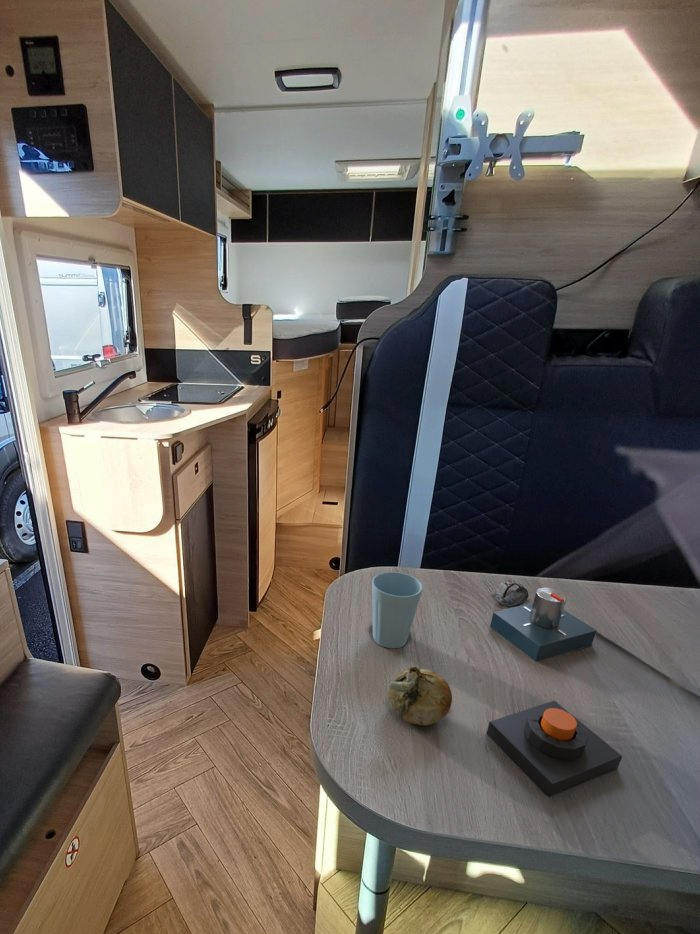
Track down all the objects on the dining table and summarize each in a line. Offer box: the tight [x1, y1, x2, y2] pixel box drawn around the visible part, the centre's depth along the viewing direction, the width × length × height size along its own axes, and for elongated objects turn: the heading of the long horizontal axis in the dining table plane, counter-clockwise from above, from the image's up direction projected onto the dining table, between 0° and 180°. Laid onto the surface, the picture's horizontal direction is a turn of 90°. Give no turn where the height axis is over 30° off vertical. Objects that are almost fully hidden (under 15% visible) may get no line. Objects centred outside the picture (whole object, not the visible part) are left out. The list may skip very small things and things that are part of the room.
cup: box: [371, 571, 424, 649], centre depth 83 cm, size 8×8×10 cm
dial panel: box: [489, 602, 598, 662], centre depth 85 cm, size 12×10×3 cm
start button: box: [541, 708, 577, 741], centre depth 62 cm, size 4×4×2 cm
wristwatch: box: [495, 578, 530, 607], centre depth 95 cm, size 3×5×5 cm
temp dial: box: [529, 587, 568, 628], centre depth 84 cm, size 4×4×5 cm
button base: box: [486, 700, 623, 798], centre depth 63 cm, size 11×10×4 cm
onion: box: [388, 665, 453, 726], centre depth 68 cm, size 8×8×8 cm
